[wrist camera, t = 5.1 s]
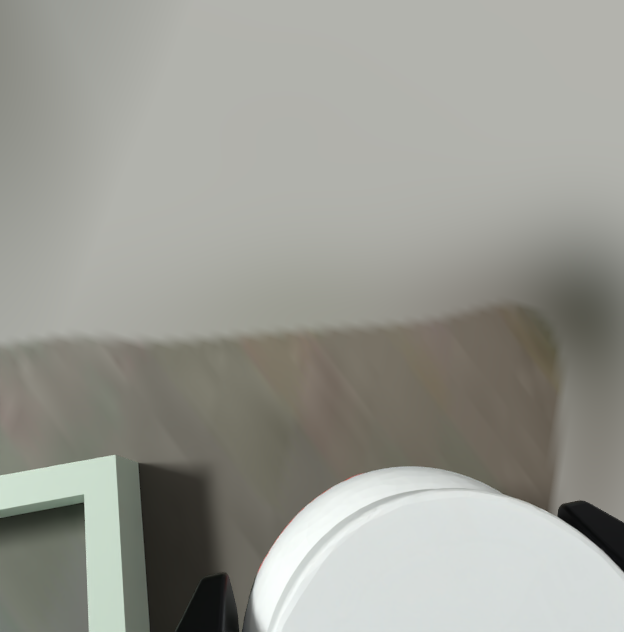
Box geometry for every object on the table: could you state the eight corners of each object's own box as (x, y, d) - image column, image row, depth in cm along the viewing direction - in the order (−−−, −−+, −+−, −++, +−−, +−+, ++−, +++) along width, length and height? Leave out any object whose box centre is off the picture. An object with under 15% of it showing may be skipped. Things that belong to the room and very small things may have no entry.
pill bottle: (304, 461, 16) (308, 375, 7) (492, 524, 16) (771, 524, 6) (234, 677, 14) (109, 963, 5) (447, 758, 14) (758, 1254, 4)
